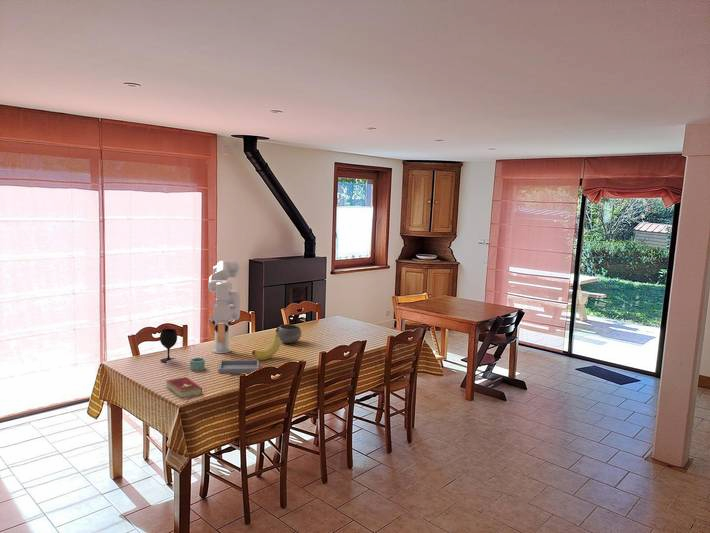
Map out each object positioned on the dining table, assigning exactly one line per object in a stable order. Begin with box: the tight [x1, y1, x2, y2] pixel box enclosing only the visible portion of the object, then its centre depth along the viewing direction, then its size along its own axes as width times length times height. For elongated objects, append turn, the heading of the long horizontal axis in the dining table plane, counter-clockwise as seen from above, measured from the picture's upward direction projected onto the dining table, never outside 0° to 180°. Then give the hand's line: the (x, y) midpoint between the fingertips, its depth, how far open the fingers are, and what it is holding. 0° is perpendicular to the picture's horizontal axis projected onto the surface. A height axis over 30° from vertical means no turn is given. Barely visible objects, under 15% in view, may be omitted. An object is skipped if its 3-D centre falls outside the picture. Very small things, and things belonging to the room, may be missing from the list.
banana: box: [251, 327, 281, 361], centre depth 358 cm, size 23×6×20 cm, turn 138°
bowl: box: [278, 323, 302, 344], centre depth 402 cm, size 18×18×13 cm
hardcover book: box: [165, 376, 203, 398], centre depth 294 cm, size 12×21×4 cm, turn 40°
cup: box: [189, 357, 206, 372], centre depth 328 cm, size 8×8×6 cm
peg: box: [217, 323, 226, 343], centre depth 328 cm, size 5×5×11 cm
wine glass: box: [159, 328, 178, 364], centre depth 343 cm, size 10×10×20 cm
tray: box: [218, 359, 260, 375], centre depth 333 cm, size 18×24×4 cm
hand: (221, 331), depth 328 cm, fingers closed on peg, 5 cm apart
